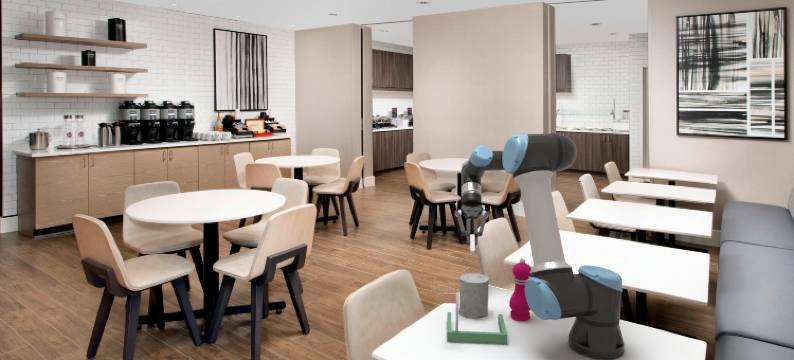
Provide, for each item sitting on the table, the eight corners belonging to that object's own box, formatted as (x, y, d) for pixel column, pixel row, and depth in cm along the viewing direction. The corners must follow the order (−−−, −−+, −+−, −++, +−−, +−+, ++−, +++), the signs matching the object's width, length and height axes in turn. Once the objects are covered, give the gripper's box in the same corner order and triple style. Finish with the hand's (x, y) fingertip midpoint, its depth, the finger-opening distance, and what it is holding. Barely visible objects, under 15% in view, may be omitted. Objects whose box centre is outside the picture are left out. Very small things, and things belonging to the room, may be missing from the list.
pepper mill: (507, 312, 171) (510, 254, 168) (529, 313, 170) (532, 255, 167) (509, 321, 164) (511, 261, 161) (532, 322, 163) (535, 262, 160)
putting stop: (502, 323, 163) (503, 278, 161) (507, 344, 149) (509, 295, 147) (442, 320, 165) (443, 276, 162) (442, 341, 151) (443, 293, 149)
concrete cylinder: (487, 320, 165) (488, 284, 163) (457, 317, 167) (458, 281, 165) (488, 308, 175) (489, 273, 172) (460, 306, 176) (460, 271, 174)
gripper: (488, 202, 197) (490, 257, 183) (454, 201, 198) (453, 256, 185) (489, 191, 191) (492, 248, 177) (454, 190, 192) (454, 246, 179)
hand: (472, 252), depth 181 cm, fingers closed
